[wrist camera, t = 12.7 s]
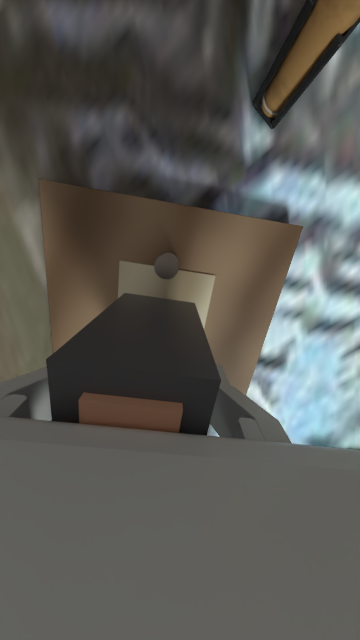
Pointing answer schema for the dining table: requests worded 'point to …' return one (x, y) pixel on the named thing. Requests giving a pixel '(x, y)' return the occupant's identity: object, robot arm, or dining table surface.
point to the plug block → (137, 369)
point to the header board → (165, 266)
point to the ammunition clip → (305, 54)
